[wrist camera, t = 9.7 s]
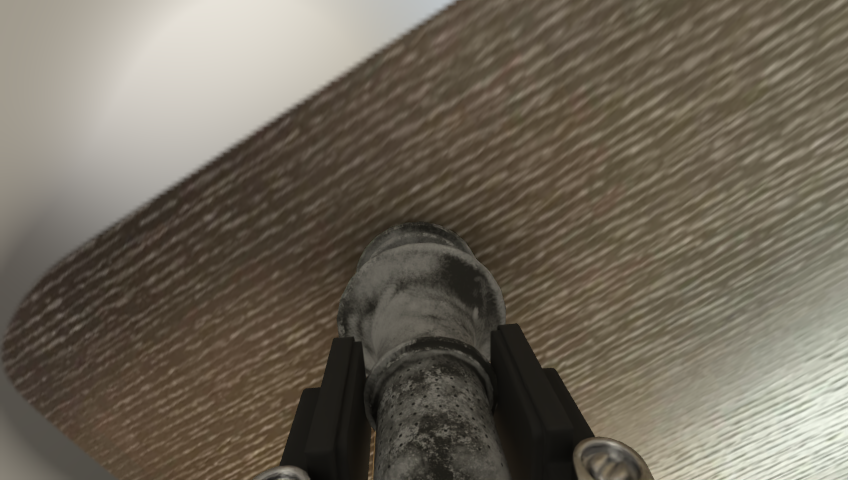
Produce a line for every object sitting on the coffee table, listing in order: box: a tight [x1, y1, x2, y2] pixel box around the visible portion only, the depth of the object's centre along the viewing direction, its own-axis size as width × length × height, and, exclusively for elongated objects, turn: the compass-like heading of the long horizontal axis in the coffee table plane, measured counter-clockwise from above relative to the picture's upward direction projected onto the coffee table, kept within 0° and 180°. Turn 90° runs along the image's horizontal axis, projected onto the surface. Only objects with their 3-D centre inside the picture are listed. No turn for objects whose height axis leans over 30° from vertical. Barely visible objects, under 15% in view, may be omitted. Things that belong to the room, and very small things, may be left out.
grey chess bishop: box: [337, 222, 512, 480], centre depth 12 cm, size 6×6×12 cm
